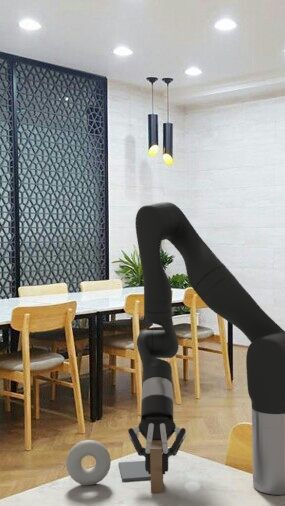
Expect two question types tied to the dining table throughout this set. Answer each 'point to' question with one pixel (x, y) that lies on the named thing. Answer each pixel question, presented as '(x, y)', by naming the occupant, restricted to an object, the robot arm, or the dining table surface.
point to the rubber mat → (133, 471)
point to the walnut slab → (156, 466)
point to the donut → (88, 475)
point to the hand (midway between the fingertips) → (156, 472)
